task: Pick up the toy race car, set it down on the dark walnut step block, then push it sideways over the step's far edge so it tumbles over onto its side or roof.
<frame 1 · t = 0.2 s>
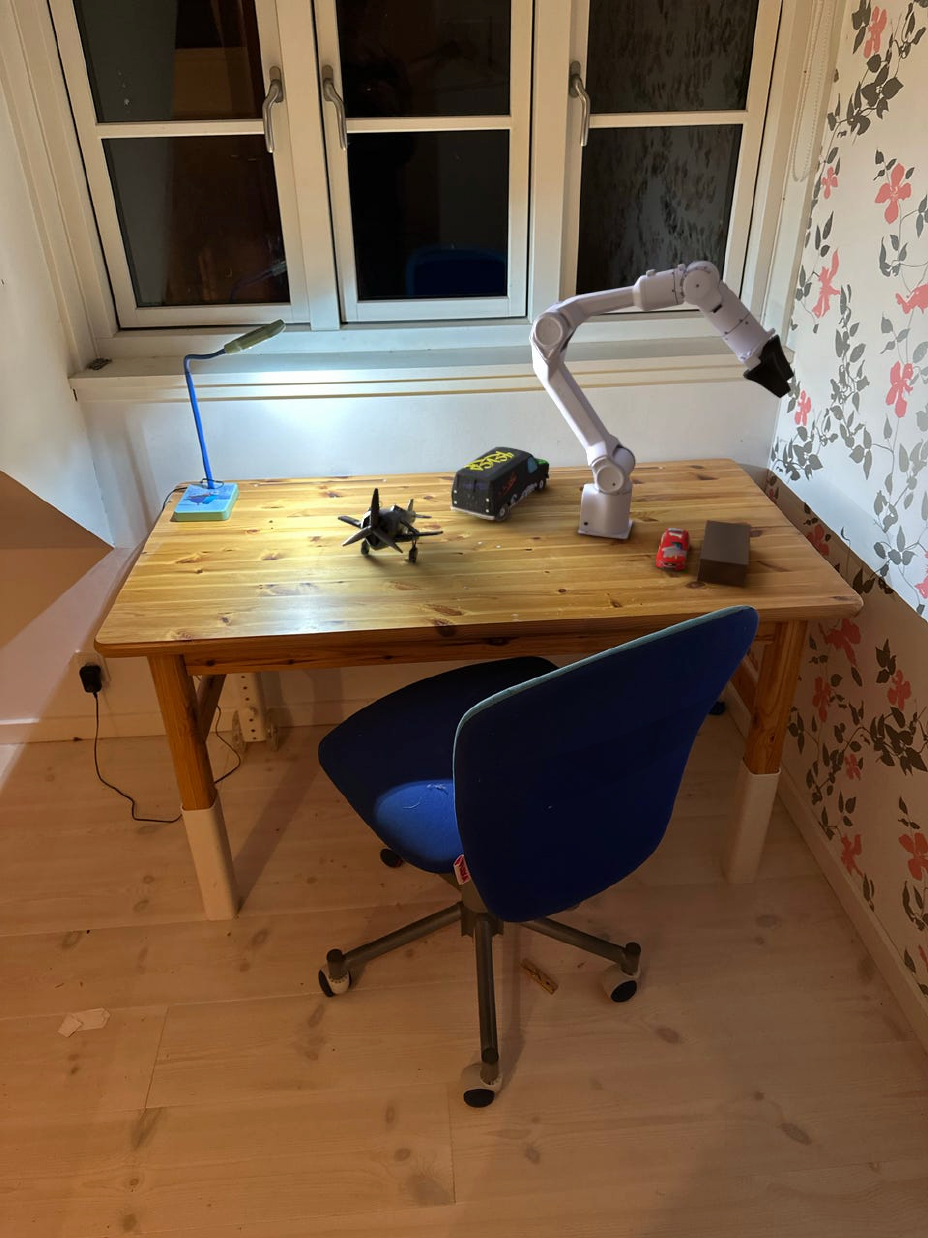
hand: (787, 386, 140), 31 cm above the table, tool tilted 45°, fingers open, 7 cm apart
airplane toy: (394, 552, 157), on the table
step block: (722, 563, 152), on the table
toy van: (501, 501, 176), on the table
race car: (672, 557, 155), on the table
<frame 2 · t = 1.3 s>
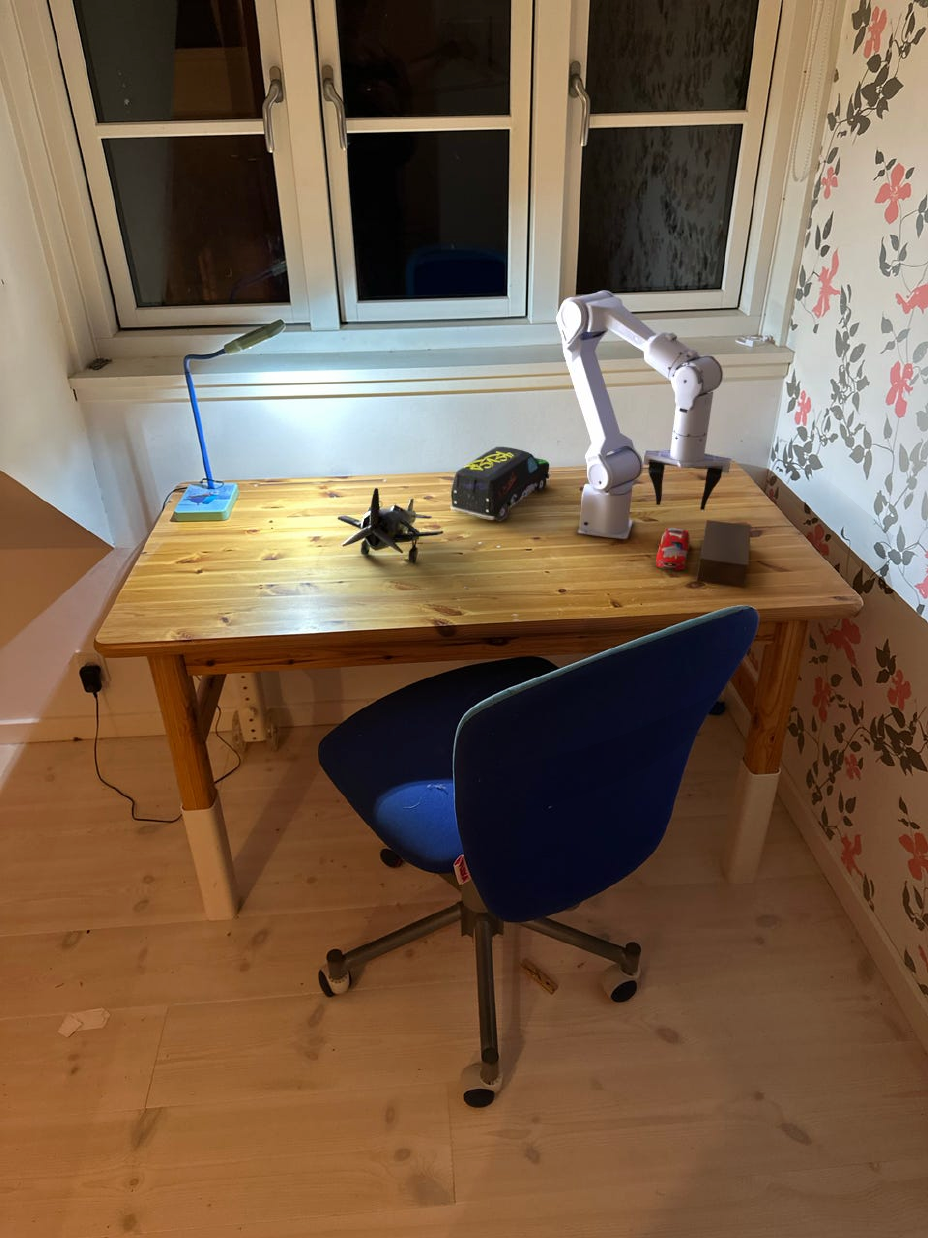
hand: (680, 505, 149), 10 cm above the table, tool pointing down, fingers open, 7 cm apart
nothing on the table moved.
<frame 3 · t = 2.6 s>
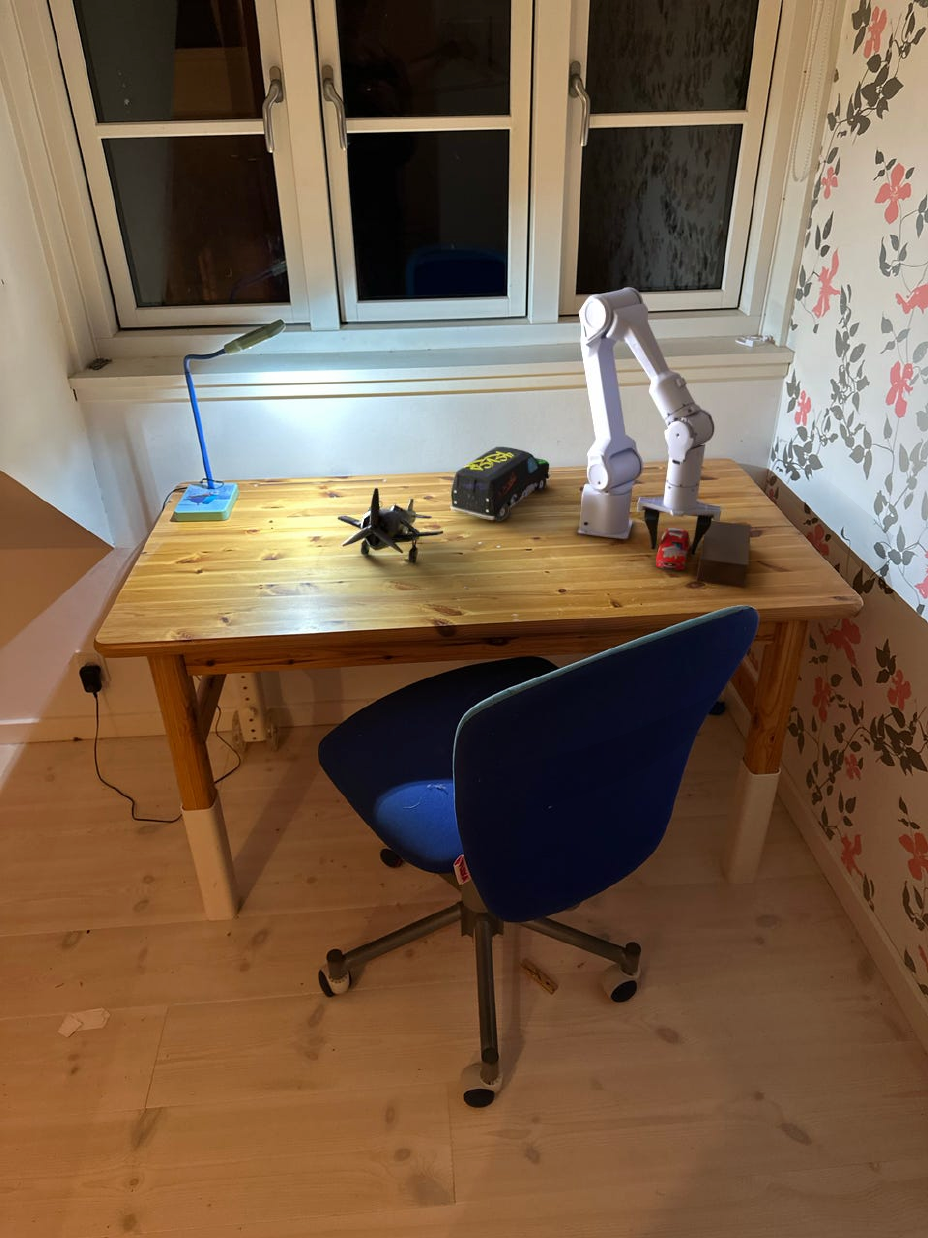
hand: (673, 549, 154), 1 cm above the table, tool pointing down, fingers open, 6 cm apart
nothing on the table moved.
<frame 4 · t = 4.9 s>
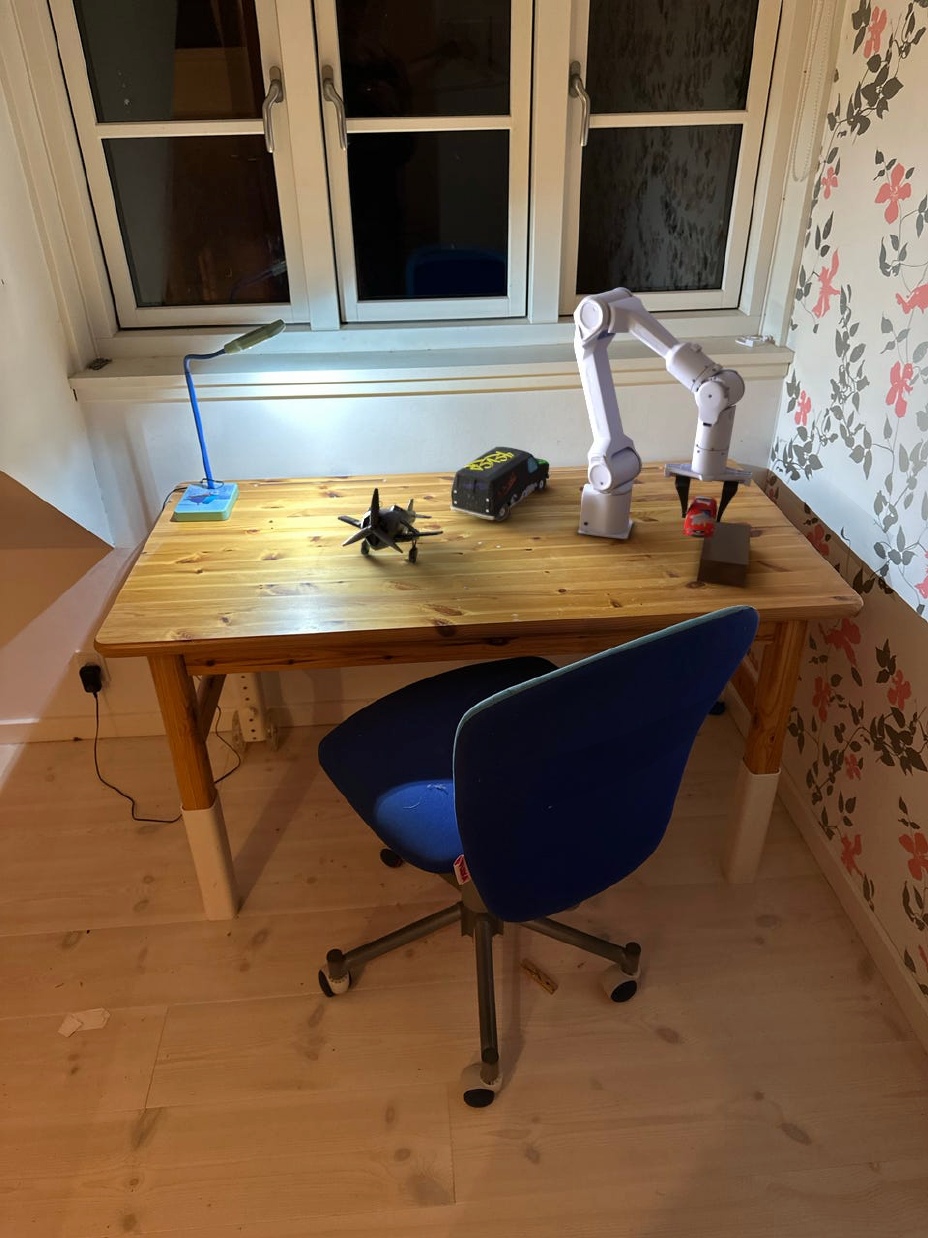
hand: (700, 517, 149), 8 cm above the table, tool pointing down, fingers closed on race car, 5 cm apart
race car: (699, 526, 150), point 7 cm above the table, touching gripper
everything else where it was.
when the fingers open (6 cm above the table, at t = 6.8 s): race car stays where it is, resting on step block.
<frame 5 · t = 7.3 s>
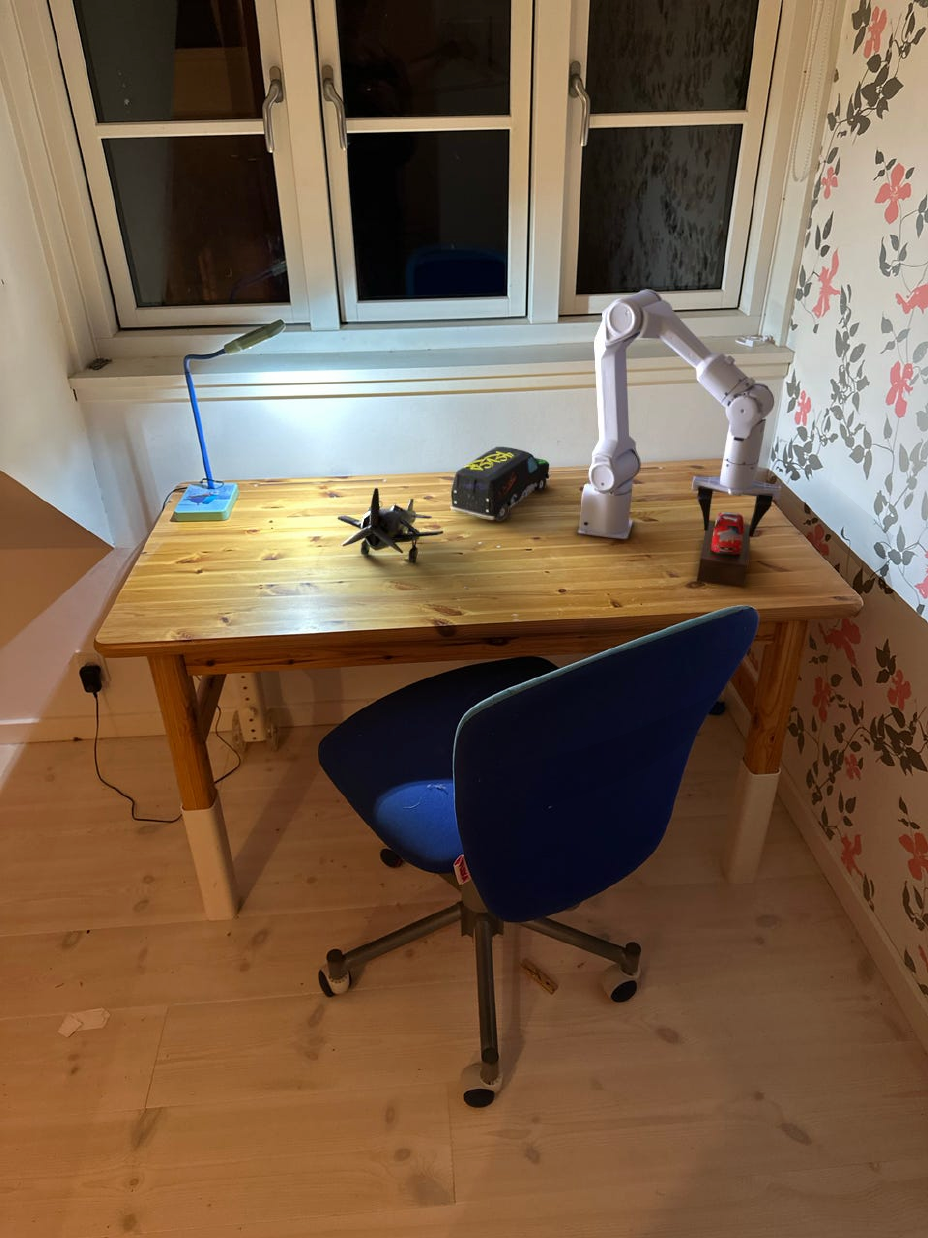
hand: (728, 531, 149), 7 cm above the table, tool pointing down, fingers open, 7 cm apart
race car: (726, 542, 150), point 4 cm above the table, touching step block
everything else where it was.
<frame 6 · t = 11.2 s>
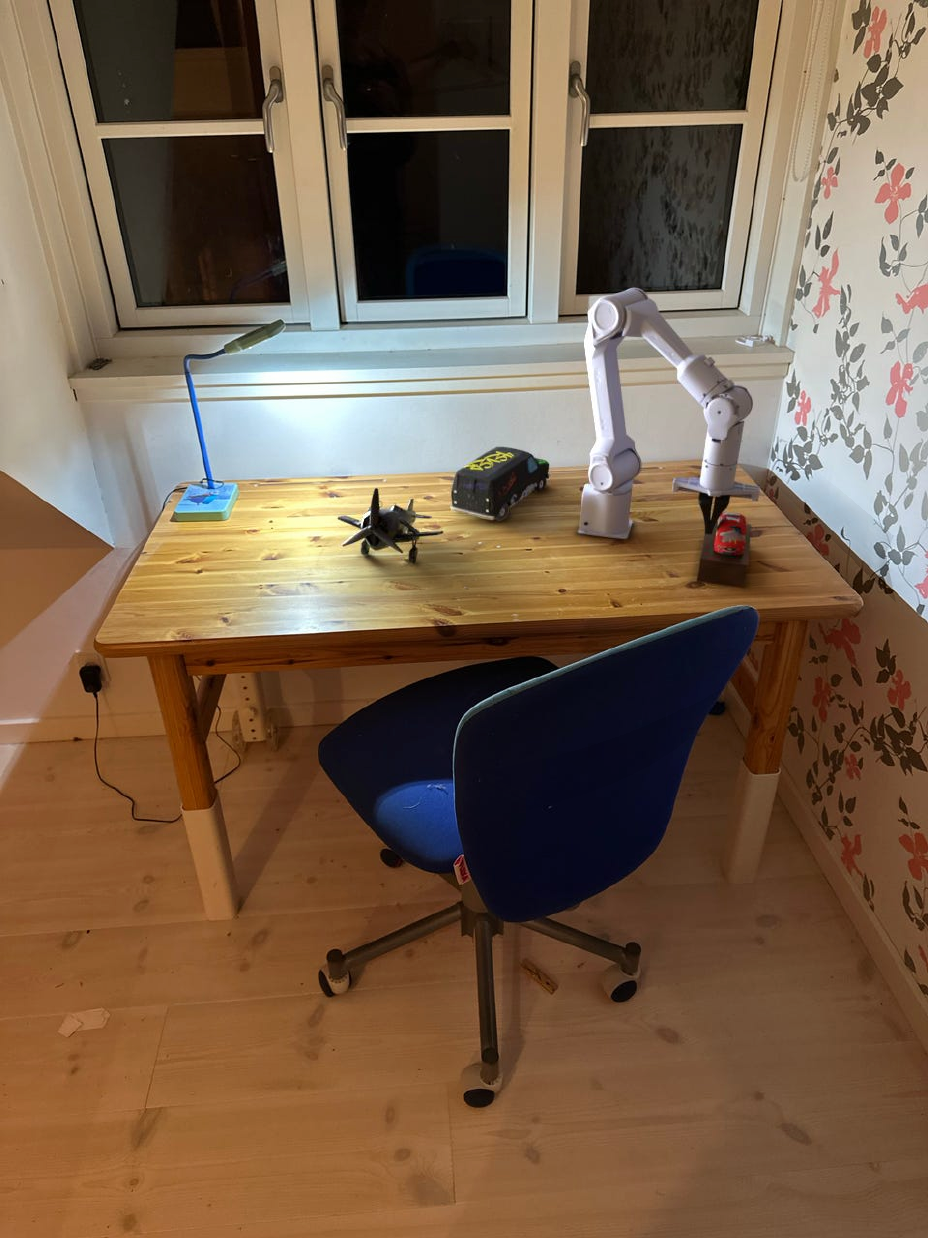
hand: (708, 531, 150), 6 cm above the table, tool pointing down, fingers closed
race car: (729, 542, 150), point 4 cm above the table, touching gripper, step block
everything else where it was.
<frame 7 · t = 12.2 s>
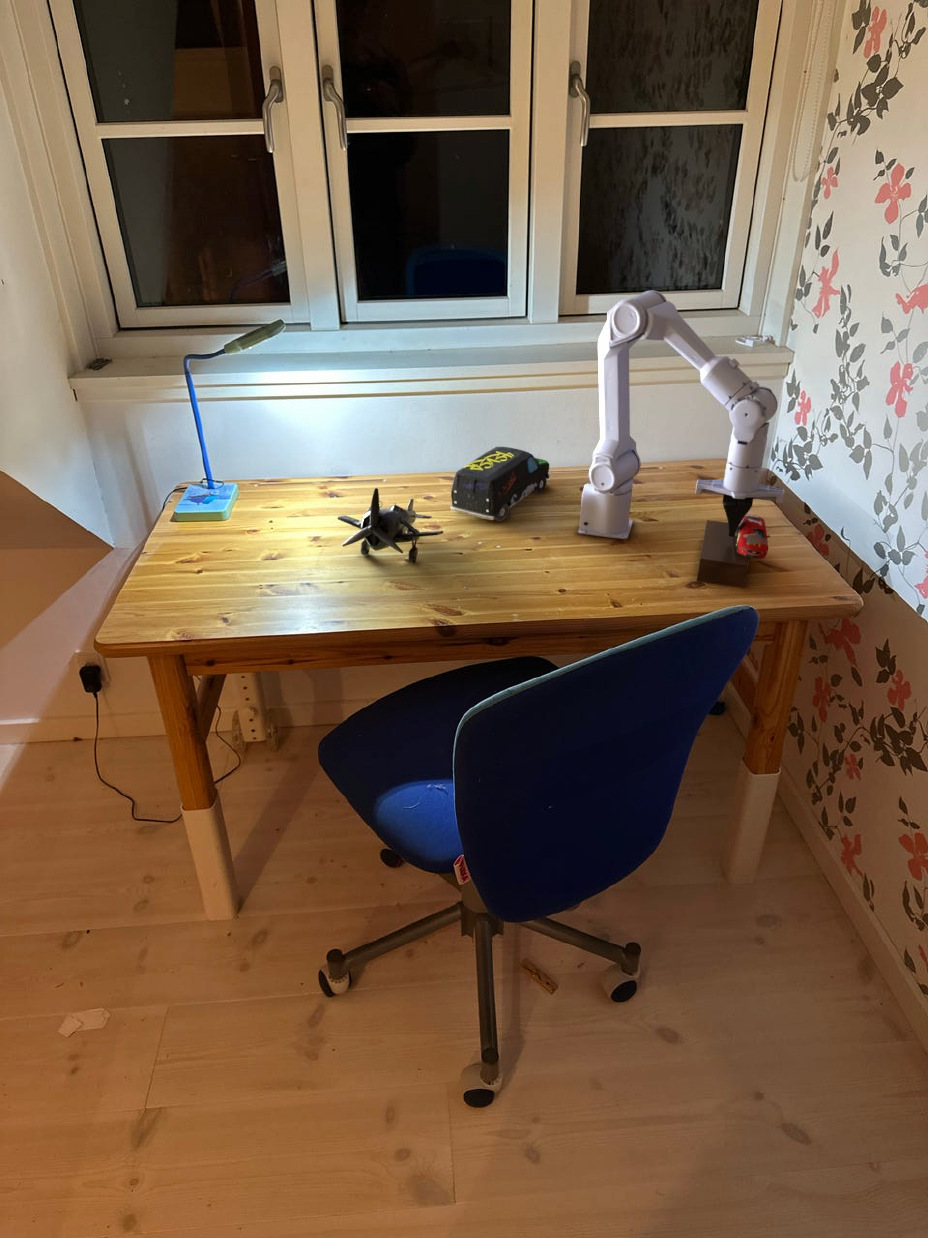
hand: (731, 534, 149), 6 cm above the table, tool pointing down, fingers closed, pressing on race car
race car: (748, 544, 149), point 4 cm above the table, touching gripper, step block
everything else where it was.
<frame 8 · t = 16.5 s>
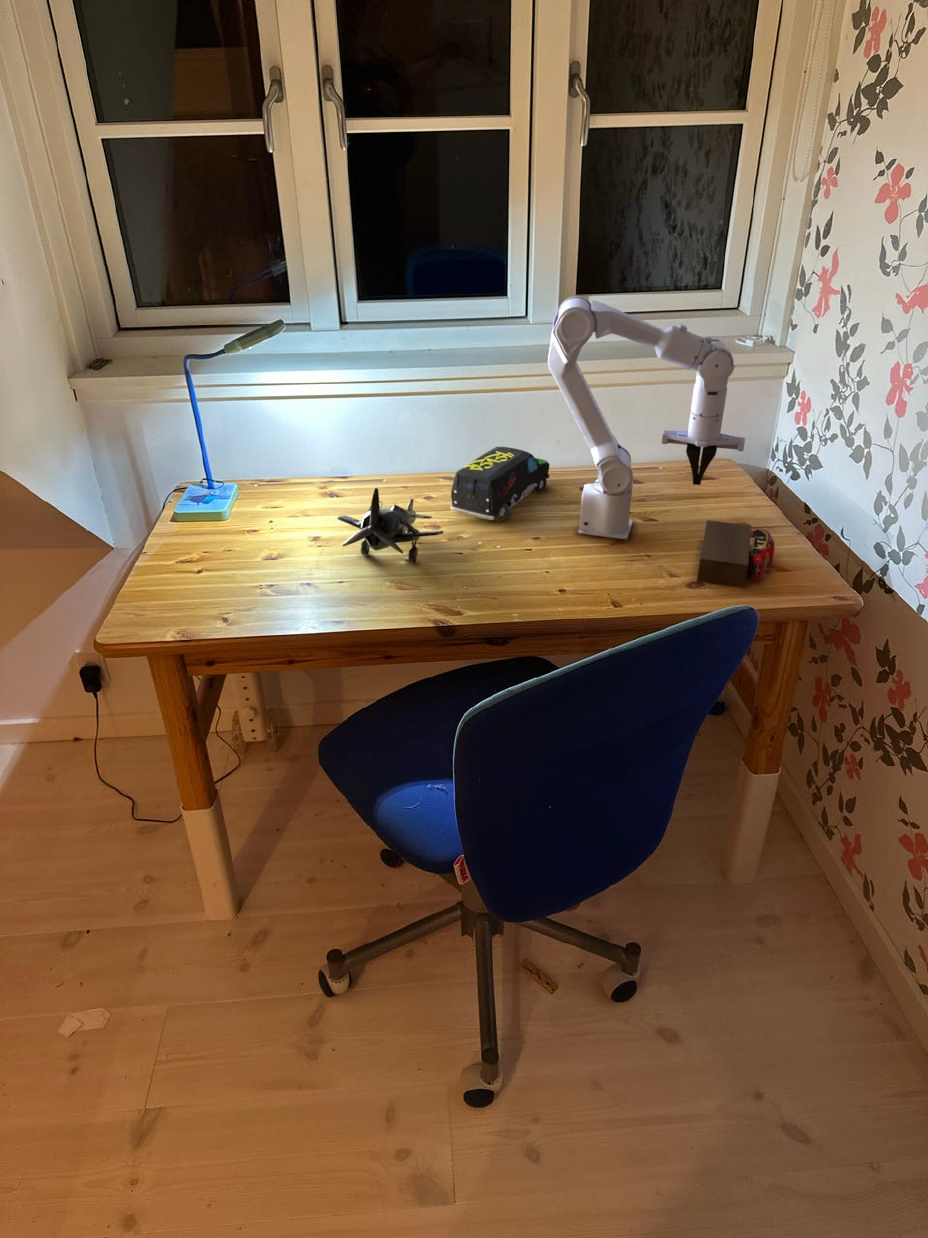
hand: (696, 482, 157), 10 cm above the table, tool pointing down, fingers closed
race car: (749, 552, 150), point 3 cm above the table
everything else where it was.
at the end: race car tilted 88°; race car inside the target area (3.3 cm from its centre), point 2.6 cm above the table; the gripper is holding nothing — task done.
